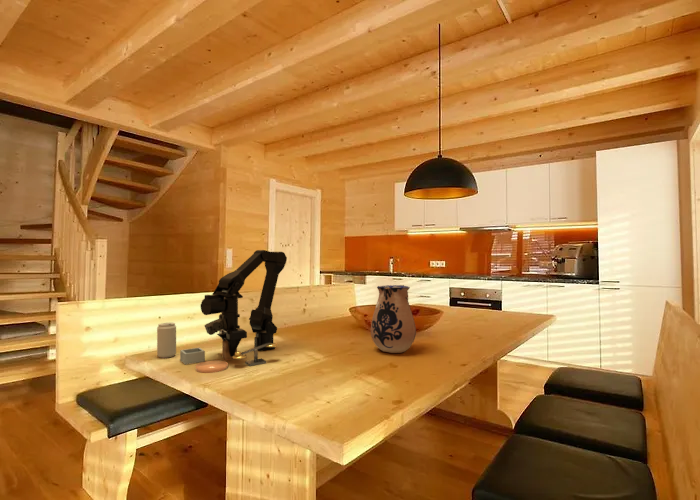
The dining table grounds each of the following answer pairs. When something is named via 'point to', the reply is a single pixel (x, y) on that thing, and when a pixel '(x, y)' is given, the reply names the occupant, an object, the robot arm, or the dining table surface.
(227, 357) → the block
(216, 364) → the dish
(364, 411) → the dining table surface
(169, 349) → the beverage can
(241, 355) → the balance
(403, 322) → the ceramic pitcher
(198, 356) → the collar
